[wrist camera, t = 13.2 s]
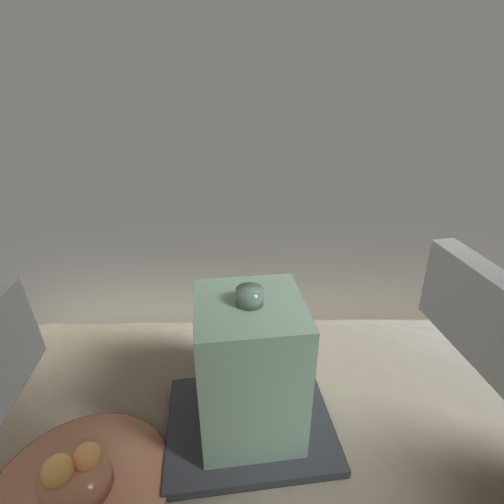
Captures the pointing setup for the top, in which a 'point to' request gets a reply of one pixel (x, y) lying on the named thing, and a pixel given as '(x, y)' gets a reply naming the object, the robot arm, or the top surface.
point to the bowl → (89, 464)
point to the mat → (249, 476)
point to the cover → (253, 369)
